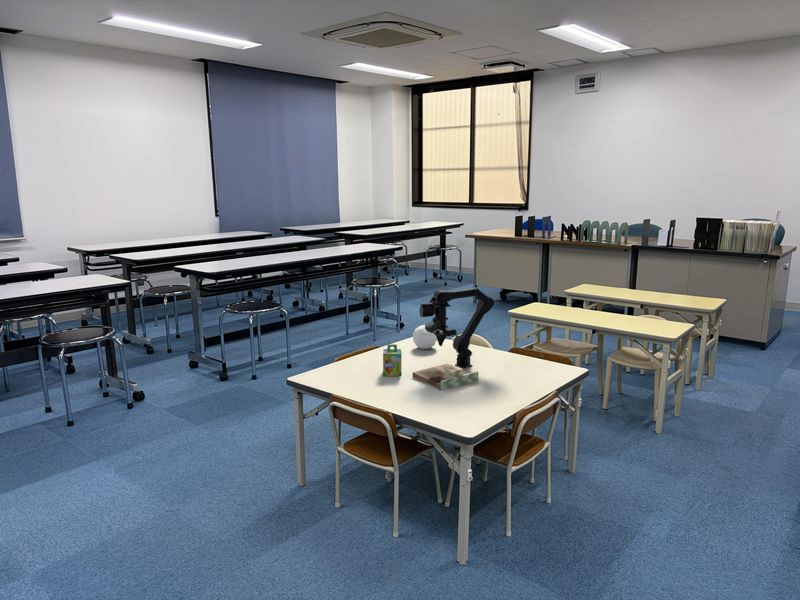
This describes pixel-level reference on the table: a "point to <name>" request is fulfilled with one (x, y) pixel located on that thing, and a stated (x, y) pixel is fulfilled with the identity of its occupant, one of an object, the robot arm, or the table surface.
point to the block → (453, 372)
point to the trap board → (438, 380)
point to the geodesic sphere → (424, 338)
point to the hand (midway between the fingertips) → (440, 345)
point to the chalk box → (392, 361)
